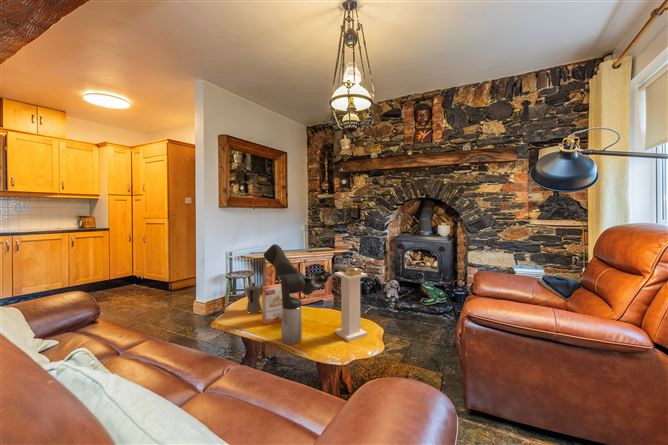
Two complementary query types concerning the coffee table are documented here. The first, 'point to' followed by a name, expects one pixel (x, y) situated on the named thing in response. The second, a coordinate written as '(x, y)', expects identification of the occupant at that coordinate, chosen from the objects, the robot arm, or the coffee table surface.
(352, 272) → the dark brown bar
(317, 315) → the coffee table surface
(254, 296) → the coffeepot
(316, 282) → the robot arm
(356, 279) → the white pillar
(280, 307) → the cracker box
